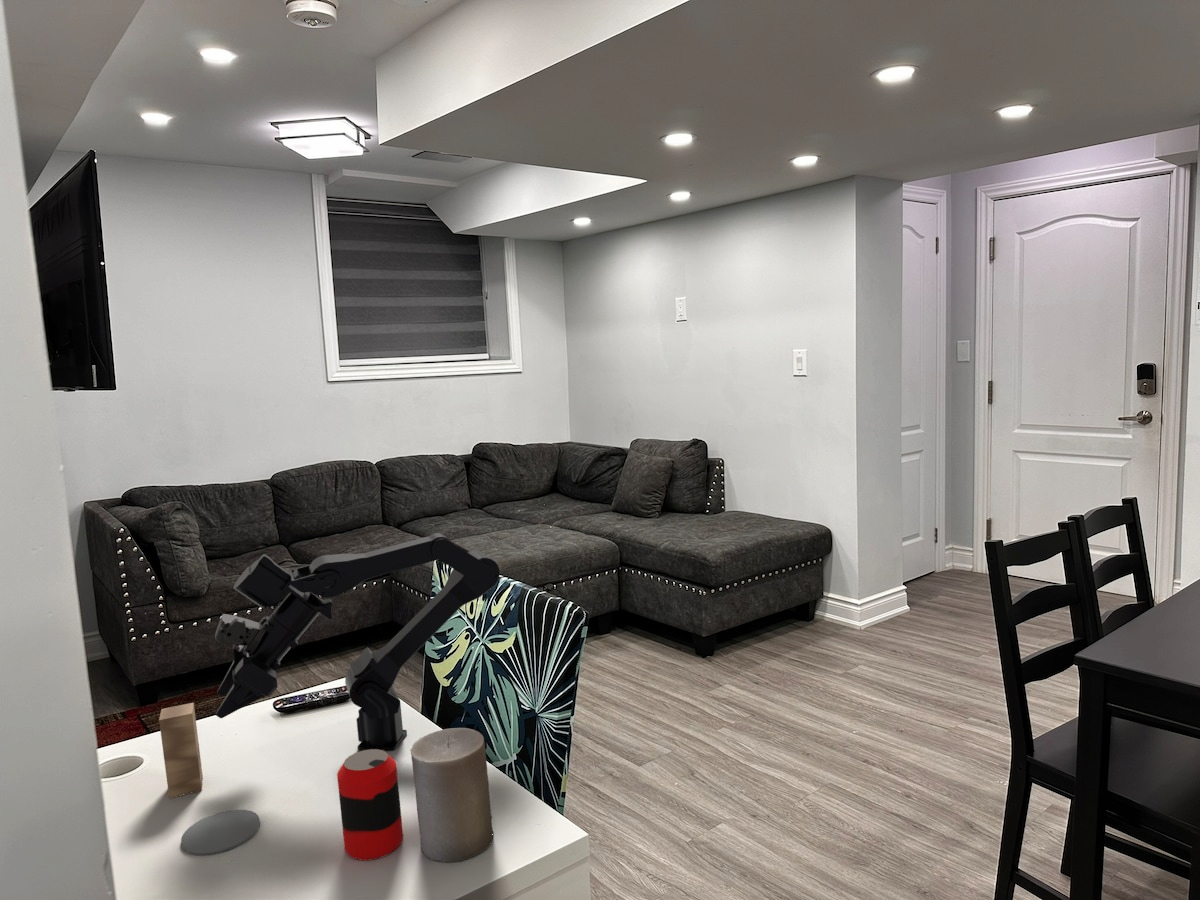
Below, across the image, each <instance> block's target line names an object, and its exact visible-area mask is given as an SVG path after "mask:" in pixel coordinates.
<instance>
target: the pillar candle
mask: <svg viewBox="0 0 1200 900" xmlns="http://www.w3.org/2000/svg"><path fill="white" fill-rule="evenodd" d="M486 752H487V751H486V743H485V737H484V736H483V734H482V733H481V732H480V731H478V730H475V729H472V728H467V727H453V728H452V727H451V728H445V729H440V730H437V731H434V732H431V733H428V734H426V735H424V736H422V737H420V738H419V739H417V740H416V741H414V743H413V744H412V746H411V748H410V755H411V763H412V773H413V783H414V791H415V792H414V793H415V802H416V803H415V804H416V811H417V812H416V813H417V821H418V828H419V829H418V830H419V837H420V838H419V840H420V847H421V850H422V852H423V853H424V854H425V856H427V857H428V858H429V859H430V860H432V861H435V860H436V862H440V861H442V862H444V863H454V862H453V861H455V862H460V861H463V860H467V859H470V858H473V857H475V856H476V855H478V854H480V853H481V852H484V850H486V849H488V848H489V846H490V845H491V844H492V842H493V840H494V837H495V836H494V829H493V822H492V821H493V820H492V819H493V815H492V808H491V797H490V786H489V785H490V784H489V774H488V765H487V754H486ZM492 834H493V835H492ZM490 843H491V844H490ZM442 862H441V863H442Z"/></svg>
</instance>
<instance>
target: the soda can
mask: <svg viewBox="0 0 1200 900" xmlns="http://www.w3.org/2000/svg"><path fill="white" fill-rule="evenodd" d="M397 767H398V766H397V762H396V761H395V759H394V758H393V757H392V756H390V755H389V754H388V752H386V750H378V749H370V750H359V751H357V752H354V753H352V754H351V755H349V756H348V757H347V758H345V760H344V762H343V763H342V765H341V766H340V768H339V770H338V771H337V773H336V775H337V777H336V778H337V786H338V797H339V805H340V807H339V808H340V812H341V813H340V815H341V826H342V834H343V835H342V836H343V844H344V845H343V846H344V851H345V853H346V854H347V855H348V856H349V857H350V858H353V859H354V858H356V859H355V860H358V859H361V860H360V861H370V860H369V859H373V860H376V859H375V858H377V859H380V858H379V857H381V858H383V857H386V856H388V855H390V854H391V853H393V852H394V851H396V850H397V849H398V847H399V846H400V845H401V843H402V842H403V838H404V832H403V822H402V821H403V820H402V811H401V801H400V800H401V799H400V791H399V779H398V769H397ZM392 851H393V852H392ZM389 853H390V854H389ZM387 854H388V855H387ZM385 855H386V856H385ZM382 856H383V857H382Z"/></svg>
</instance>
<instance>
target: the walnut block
mask: <svg viewBox="0 0 1200 900" xmlns="http://www.w3.org/2000/svg"><path fill="white" fill-rule="evenodd" d="M158 722H159V727H160V728H159V729H160V730H159V731H160V737H161V744H162V752H163V753H162V755H163V760H164V767H165V776H166V784H167V791H168V798H169V799H172V798H171V797H173V798H177V797H181V796H180V795H182V796H184V795H183V794H186V795H189V794H188V793H190V794H192V793H191V792H194V793H198V792H197V791H199V792H201V790H202V791H203V782H202V781H204V780H203V779H204V776H203V768H202V767H203V766H202V760H201V758H202V757H201V751H200V744H199V734H198V727H197V718H196V710H195V703H194V702H190V703H184V704H179V705H174V706H169V707H165V708H161V711H160V715H159V719H158ZM176 796H177V797H176Z"/></svg>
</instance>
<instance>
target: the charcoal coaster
mask: <svg viewBox="0 0 1200 900" xmlns="http://www.w3.org/2000/svg"><path fill="white" fill-rule="evenodd" d="M260 827H261V820H260V816H259V815H258V814H257V813H256V812H254V811H252V810H248V809H231V810H225V811H220V812H216V813H213V814H211V815H209V816H205V817H204V818H201V819H200V820H198V821H196V822H195V823H192V825H190V826H189V827H188V828H187V829H186V830H185V831H184V833H183V834H182V836H181V839H180V842H181V847H182V849H183V850H184V852H186V853H187V854H190V855H195V856H207V855H208V856H209V855H215V854H219V853H224V852H226V851H230V850H232V849H234V848H237V847H240V845H243V844H244V843H247V842H248V841H249V840H250V839H252V838H253V837H254V836H255V835H256V834H257V832H258V831H259V830H260Z"/></svg>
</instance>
